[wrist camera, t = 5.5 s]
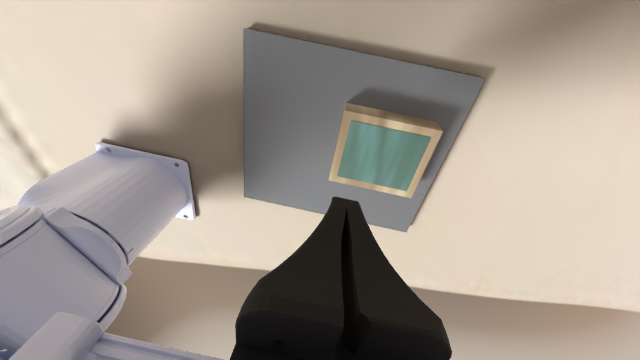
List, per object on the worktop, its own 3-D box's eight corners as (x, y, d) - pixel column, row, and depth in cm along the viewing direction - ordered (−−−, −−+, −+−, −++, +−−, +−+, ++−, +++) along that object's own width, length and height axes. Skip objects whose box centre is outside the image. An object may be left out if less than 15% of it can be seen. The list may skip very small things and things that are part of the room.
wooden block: (328, 180, 21) (411, 198, 20) (344, 110, 17) (443, 131, 17) (330, 168, 22) (407, 184, 22) (345, 102, 19) (435, 121, 19)
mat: (246, 192, 26) (244, 196, 25) (247, 28, 18) (243, 28, 17) (405, 226, 26) (406, 232, 25) (480, 76, 18) (485, 78, 17)
